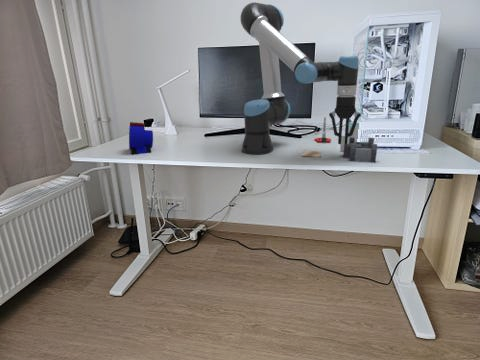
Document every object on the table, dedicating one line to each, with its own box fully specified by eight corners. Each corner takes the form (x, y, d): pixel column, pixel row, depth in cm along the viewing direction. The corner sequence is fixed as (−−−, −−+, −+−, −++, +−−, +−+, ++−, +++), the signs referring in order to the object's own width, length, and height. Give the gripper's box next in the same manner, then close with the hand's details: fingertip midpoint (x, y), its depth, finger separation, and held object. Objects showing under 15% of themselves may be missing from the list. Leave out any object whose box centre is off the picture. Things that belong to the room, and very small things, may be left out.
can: (353, 144, 156) (355, 120, 152) (365, 147, 150) (367, 122, 146) (343, 146, 153) (345, 122, 149) (354, 149, 147) (356, 124, 143)
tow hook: (314, 139, 171) (315, 143, 162) (315, 115, 167) (316, 117, 158) (329, 139, 169) (332, 143, 161) (331, 115, 165) (333, 117, 157)
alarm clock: (129, 149, 163) (124, 120, 158) (153, 146, 167) (149, 118, 162) (130, 155, 152) (125, 124, 147) (156, 152, 156) (152, 122, 151)
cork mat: (301, 156, 139) (301, 155, 139) (303, 152, 146) (303, 150, 146) (320, 157, 137) (320, 156, 137) (321, 152, 144) (321, 151, 144)
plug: (343, 157, 136) (344, 146, 134) (343, 154, 140) (344, 143, 138) (360, 158, 134) (361, 146, 132) (359, 155, 138) (360, 144, 137)
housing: (349, 160, 131) (351, 144, 128) (348, 152, 143) (349, 137, 141) (375, 162, 128) (377, 145, 126) (371, 152, 141) (373, 137, 138)
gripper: (329, 97, 127) (326, 153, 135) (363, 96, 124) (358, 154, 132) (330, 95, 134) (326, 148, 142) (362, 94, 131) (357, 149, 139)
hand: (342, 151), depth 137 cm, fingers closed
